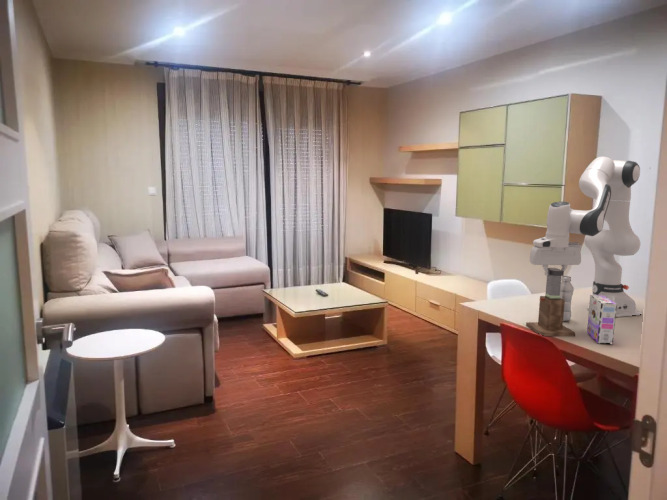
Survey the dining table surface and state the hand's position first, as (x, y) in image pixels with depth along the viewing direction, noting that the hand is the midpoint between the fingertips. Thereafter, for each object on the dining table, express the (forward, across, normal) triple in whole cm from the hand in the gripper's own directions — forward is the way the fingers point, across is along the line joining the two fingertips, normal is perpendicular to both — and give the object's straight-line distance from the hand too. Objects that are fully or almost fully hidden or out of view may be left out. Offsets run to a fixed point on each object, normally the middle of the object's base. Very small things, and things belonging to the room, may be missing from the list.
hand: (554, 275), depth 207 cm
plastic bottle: (+24, -13, -14) cm, 31 cm away
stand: (+24, 0, 0) cm, 24 cm away
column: (+15, 0, 0) cm, 15 cm away
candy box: (+24, -15, +11) cm, 30 cm away
